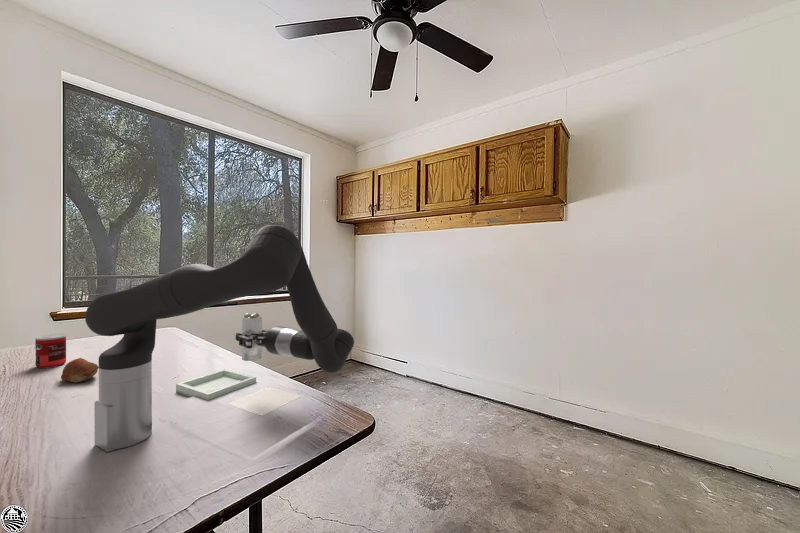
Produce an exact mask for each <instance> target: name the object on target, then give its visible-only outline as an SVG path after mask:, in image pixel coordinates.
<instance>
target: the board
mask: <svg viewBox="0 0 800 533" xmlns="http://www.w3.org/2000/svg"><path fill="white" fill-rule="evenodd" d="M301 397H302V395H300V394H296V393H292V392H289V391H284V390H281V389H277V388H274V387H270V386H268V387H265V388H262V389H260V390H258V391H254V392H253V393H250V394H248V395H245V396H242V397H240V398H237V399H235V400H233V401H231V402H227V405H229V406H231V407H234V408H238V409H241V410H243V411H246V412H249V413H252V414H255V415H258V416H261V417H262V416H263V417H264V416H265V415H267V414H269V413H271V412H273V411H275V410H277V409H279V408H281V407H283V406H285V405H287V404H289V403H291V402H293V401H295V400H298V399H299V398H301Z"/></svg>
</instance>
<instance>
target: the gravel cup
mask: <svg viewBox="0 0 800 533" xmlns="http://www.w3.org/2000/svg"><path fill="white" fill-rule="evenodd" d="M262 330H263V315H260V314H259V313H257V312H255V313H253V314H251V313H249V312H248V313H247V312H246V313H245V314H243V316H242V317H241V333H244V334H251V333H254V332H255V333H262ZM256 336H257V335H255V340H256ZM249 338H250V337H249ZM262 358H263V347H261V346H252V348H250V349H249V348H246V347H243V346H241V360H242V361H246V362H251V361H252V362H253V361H257V360H261V359H262Z"/></svg>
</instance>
